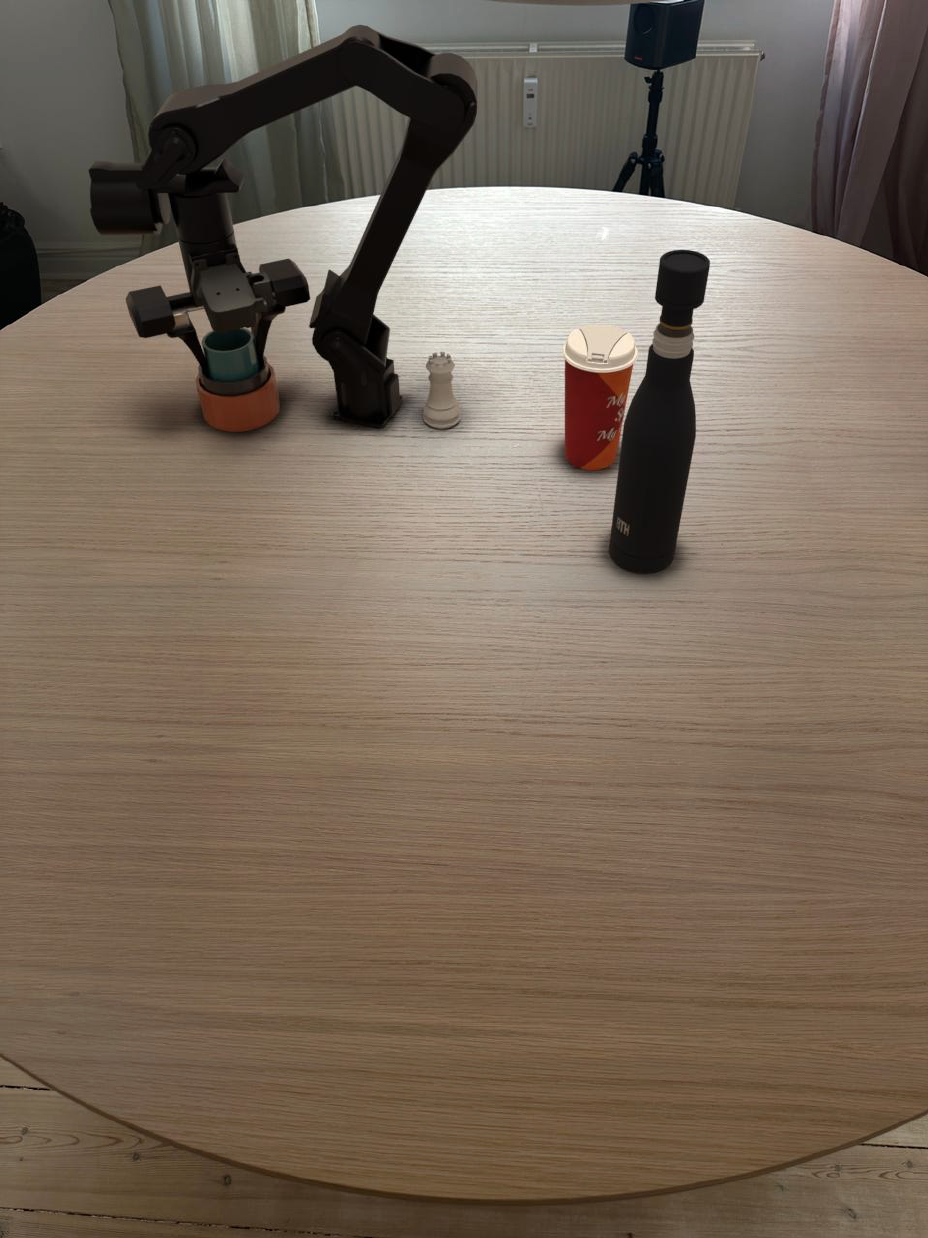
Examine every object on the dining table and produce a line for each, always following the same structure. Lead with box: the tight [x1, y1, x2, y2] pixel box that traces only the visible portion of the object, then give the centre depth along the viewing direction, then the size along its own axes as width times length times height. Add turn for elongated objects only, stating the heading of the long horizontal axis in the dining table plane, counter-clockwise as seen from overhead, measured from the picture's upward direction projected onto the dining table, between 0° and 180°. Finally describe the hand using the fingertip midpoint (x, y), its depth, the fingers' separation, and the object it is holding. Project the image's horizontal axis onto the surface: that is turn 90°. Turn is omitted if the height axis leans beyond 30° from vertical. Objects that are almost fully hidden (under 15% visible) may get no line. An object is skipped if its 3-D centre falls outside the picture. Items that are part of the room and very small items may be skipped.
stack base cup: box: [195, 361, 281, 433], centre depth 114 cm, size 9×9×4 cm
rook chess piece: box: [422, 351, 462, 430], centre depth 111 cm, size 4×4×8 cm
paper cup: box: [561, 324, 639, 471], centre depth 104 cm, size 8×8×14 cm
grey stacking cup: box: [197, 355, 270, 396], centre depth 114 cm, size 8×8×6 cm
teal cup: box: [201, 327, 260, 382], centre depth 112 cm, size 6×6×8 cm
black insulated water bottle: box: [608, 249, 711, 574], centre depth 86 cm, size 6×6×30 cm
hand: (233, 366), depth 112 cm, fingers closed on teal cup, 6 cm apart
